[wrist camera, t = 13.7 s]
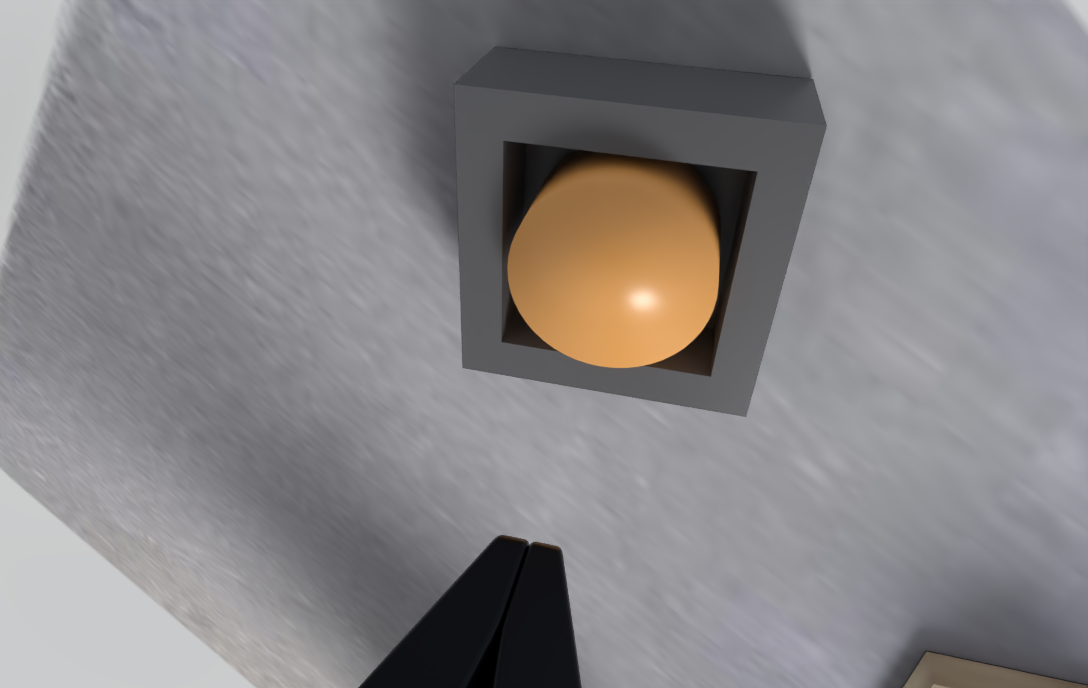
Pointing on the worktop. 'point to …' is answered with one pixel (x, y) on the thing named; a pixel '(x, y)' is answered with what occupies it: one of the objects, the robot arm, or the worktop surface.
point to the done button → (618, 259)
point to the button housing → (649, 132)
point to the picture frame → (975, 675)
